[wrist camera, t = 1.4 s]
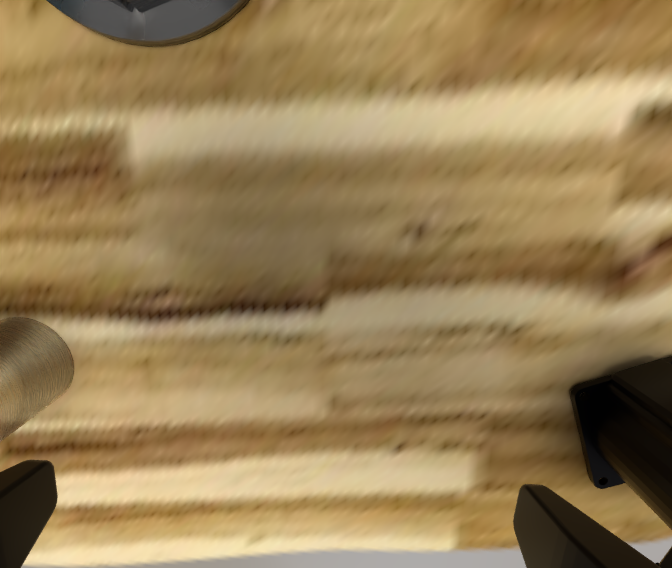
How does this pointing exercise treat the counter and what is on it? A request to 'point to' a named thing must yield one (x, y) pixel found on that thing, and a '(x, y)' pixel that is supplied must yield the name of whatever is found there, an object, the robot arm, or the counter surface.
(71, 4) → the dark grey handled piece
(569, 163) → the counter surface
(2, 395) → the jar with red lid
